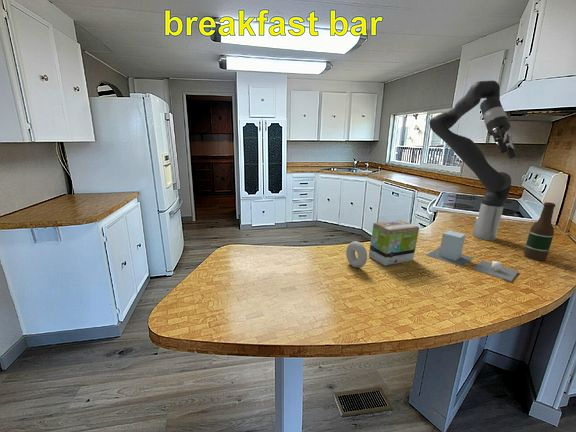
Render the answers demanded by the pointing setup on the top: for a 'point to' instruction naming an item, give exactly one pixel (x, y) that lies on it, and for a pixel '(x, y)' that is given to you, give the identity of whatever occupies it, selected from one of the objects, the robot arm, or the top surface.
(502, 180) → the robot arm
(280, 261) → the top surface
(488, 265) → the gray plate with knob
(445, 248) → the light gray block
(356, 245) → the donut
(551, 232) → the beer bottle
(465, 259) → the mat
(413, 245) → the tea box
